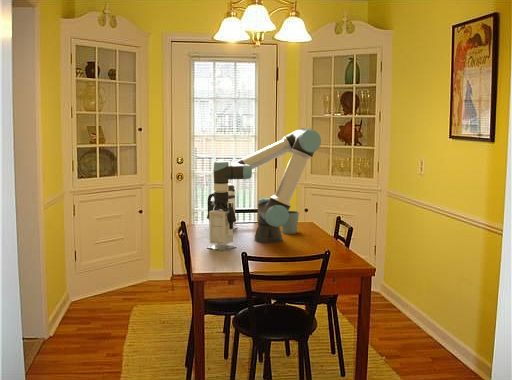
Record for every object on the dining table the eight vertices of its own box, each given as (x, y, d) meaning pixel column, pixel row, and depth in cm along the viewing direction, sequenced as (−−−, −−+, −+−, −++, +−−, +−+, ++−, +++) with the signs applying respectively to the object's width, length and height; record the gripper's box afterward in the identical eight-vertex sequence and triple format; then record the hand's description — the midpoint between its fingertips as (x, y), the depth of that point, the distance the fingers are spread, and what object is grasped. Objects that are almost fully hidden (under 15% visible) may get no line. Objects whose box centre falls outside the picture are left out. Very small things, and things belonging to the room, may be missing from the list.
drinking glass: (278, 232, 343) (278, 212, 342) (286, 229, 352) (287, 210, 350) (293, 234, 338) (293, 214, 336) (301, 231, 346) (301, 211, 345)
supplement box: (233, 241, 307) (233, 209, 305) (225, 245, 299) (225, 212, 297) (217, 239, 311) (217, 208, 309) (208, 243, 303) (208, 210, 301)
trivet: (236, 247, 307) (236, 246, 307) (223, 251, 298) (223, 250, 298) (220, 244, 313) (220, 243, 313) (206, 248, 304) (206, 247, 304)
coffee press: (235, 226, 363) (235, 177, 359) (238, 231, 348) (238, 180, 344) (207, 226, 361) (207, 178, 357) (209, 232, 345) (208, 181, 341)
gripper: (243, 192, 298) (243, 235, 301) (208, 188, 311) (209, 230, 314) (234, 193, 292) (234, 237, 295) (199, 190, 305) (200, 232, 308)
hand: (221, 234), depth 305 cm, fingers closed on supplement box, 10 cm apart
